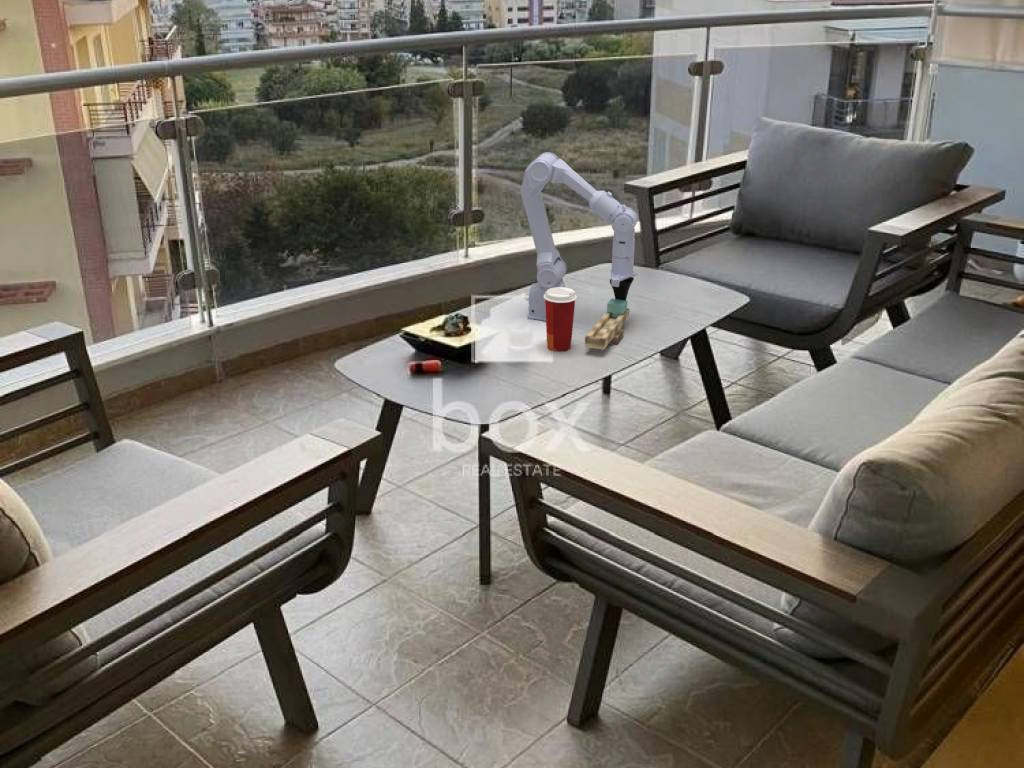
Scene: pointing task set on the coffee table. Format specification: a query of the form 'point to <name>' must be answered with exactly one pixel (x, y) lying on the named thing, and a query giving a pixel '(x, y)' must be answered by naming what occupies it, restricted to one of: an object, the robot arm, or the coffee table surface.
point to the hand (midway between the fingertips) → (620, 304)
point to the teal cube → (616, 307)
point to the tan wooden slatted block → (606, 331)
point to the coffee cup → (559, 317)
